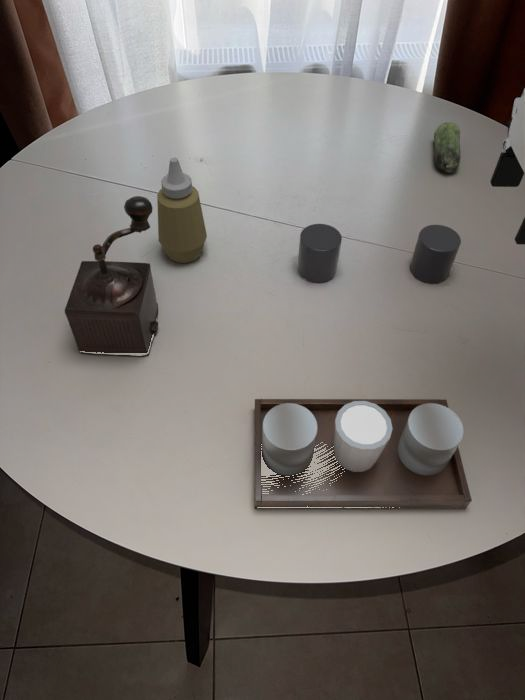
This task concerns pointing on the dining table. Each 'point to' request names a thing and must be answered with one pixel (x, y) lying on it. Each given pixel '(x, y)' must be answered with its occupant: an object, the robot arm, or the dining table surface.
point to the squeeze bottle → (180, 216)
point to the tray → (375, 483)
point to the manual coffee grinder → (115, 296)
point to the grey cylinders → (426, 264)
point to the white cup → (360, 435)
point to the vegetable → (447, 147)
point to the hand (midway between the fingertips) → (516, 212)
